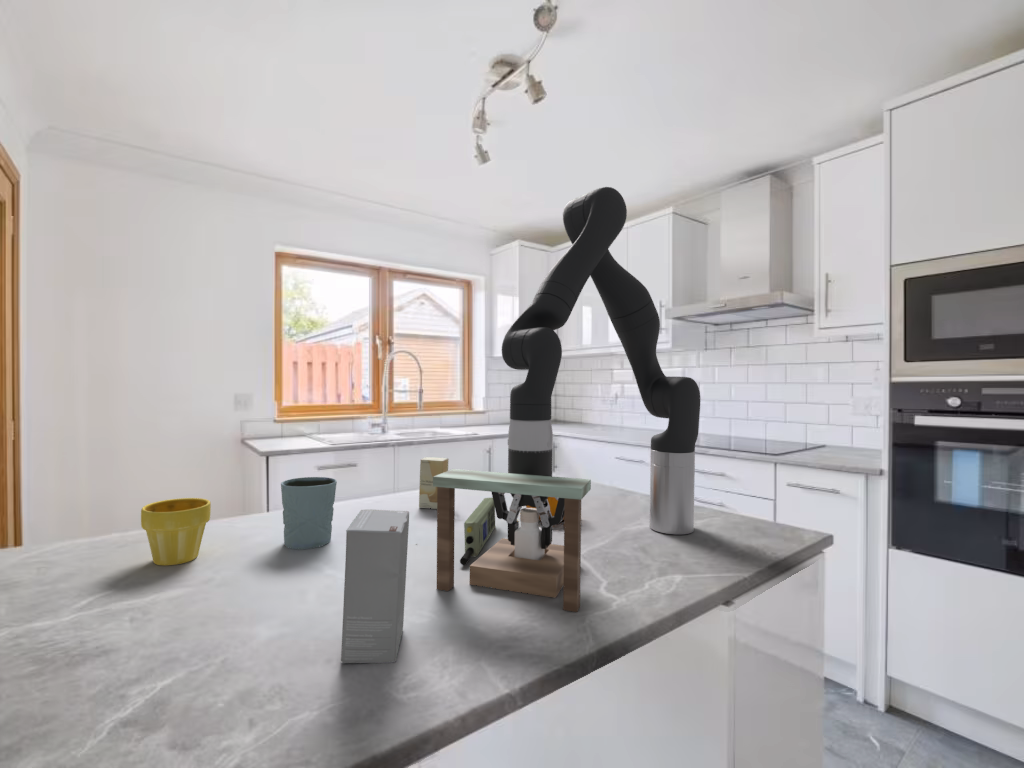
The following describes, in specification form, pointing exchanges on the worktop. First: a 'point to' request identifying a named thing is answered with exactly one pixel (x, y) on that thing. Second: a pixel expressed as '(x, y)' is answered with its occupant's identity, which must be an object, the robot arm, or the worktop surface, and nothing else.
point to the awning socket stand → (500, 559)
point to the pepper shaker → (529, 536)
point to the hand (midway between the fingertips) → (529, 545)
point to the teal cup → (308, 511)
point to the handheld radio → (478, 528)
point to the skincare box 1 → (374, 586)
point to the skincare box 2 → (430, 480)
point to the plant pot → (175, 528)
